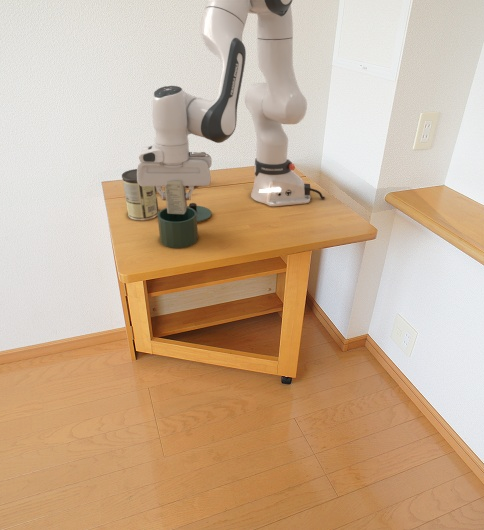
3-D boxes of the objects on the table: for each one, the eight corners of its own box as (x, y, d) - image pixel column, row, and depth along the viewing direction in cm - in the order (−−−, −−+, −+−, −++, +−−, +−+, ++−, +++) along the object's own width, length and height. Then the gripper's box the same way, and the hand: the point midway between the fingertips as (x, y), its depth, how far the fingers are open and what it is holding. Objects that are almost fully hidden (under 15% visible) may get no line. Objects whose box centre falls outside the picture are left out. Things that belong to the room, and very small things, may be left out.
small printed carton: (187, 208, 121) (185, 176, 116) (184, 215, 118) (181, 181, 112) (170, 207, 122) (167, 174, 116) (166, 213, 118) (163, 180, 112)
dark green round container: (198, 230, 130) (196, 205, 125) (197, 248, 120) (196, 222, 116) (162, 230, 129) (159, 206, 124) (158, 248, 119) (155, 222, 115)
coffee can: (136, 206, 143) (131, 167, 136) (163, 209, 142) (160, 170, 134) (121, 218, 135) (115, 177, 127) (150, 222, 133) (146, 181, 126)
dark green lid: (211, 208, 144) (211, 196, 142) (211, 224, 134) (211, 212, 132) (176, 208, 143) (175, 197, 140) (173, 224, 133) (172, 212, 130)
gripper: (211, 148, 114) (212, 195, 121) (136, 148, 112) (142, 195, 119) (211, 155, 109) (212, 203, 116) (132, 155, 106) (139, 204, 114)
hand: (176, 199), depth 118 cm, fingers closed on small printed carton, 5 cm apart
